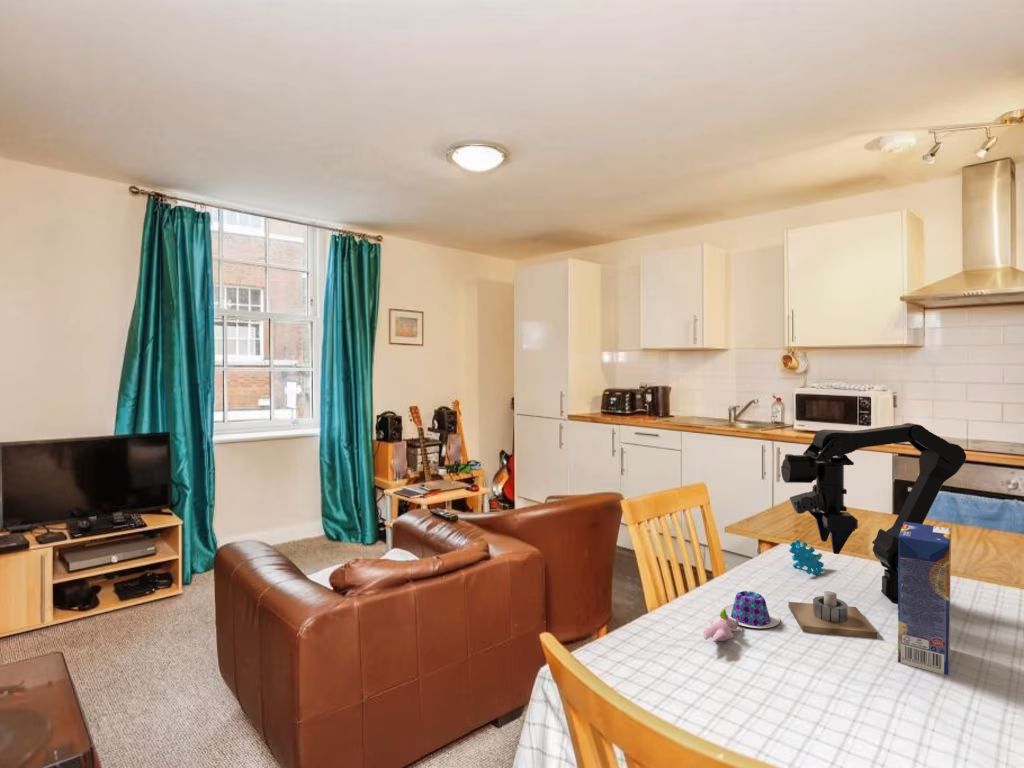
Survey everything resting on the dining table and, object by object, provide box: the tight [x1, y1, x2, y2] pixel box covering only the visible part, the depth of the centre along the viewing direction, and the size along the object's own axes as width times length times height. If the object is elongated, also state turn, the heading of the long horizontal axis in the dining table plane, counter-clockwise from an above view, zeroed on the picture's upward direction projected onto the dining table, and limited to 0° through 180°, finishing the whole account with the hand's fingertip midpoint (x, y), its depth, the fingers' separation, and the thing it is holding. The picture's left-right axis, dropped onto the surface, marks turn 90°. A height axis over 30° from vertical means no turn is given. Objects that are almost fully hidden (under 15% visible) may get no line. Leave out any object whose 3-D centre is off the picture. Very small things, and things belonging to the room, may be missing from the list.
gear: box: [788, 539, 825, 576], centre depth 151 cm, size 11×6×10 cm
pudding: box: [721, 590, 781, 629], centre depth 123 cm, size 12×12×5 cm
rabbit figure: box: [702, 608, 742, 643], centre depth 114 cm, size 6×6×15 cm
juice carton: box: [897, 522, 952, 676], centre depth 106 cm, size 12×8×24 cm, turn 141°
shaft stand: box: [787, 590, 878, 639], centre depth 121 cm, size 14×12×6 cm
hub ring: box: [812, 595, 848, 623], centre depth 121 cm, size 6×6×3 cm
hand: (829, 547), depth 133 cm, fingers open, 9 cm apart
